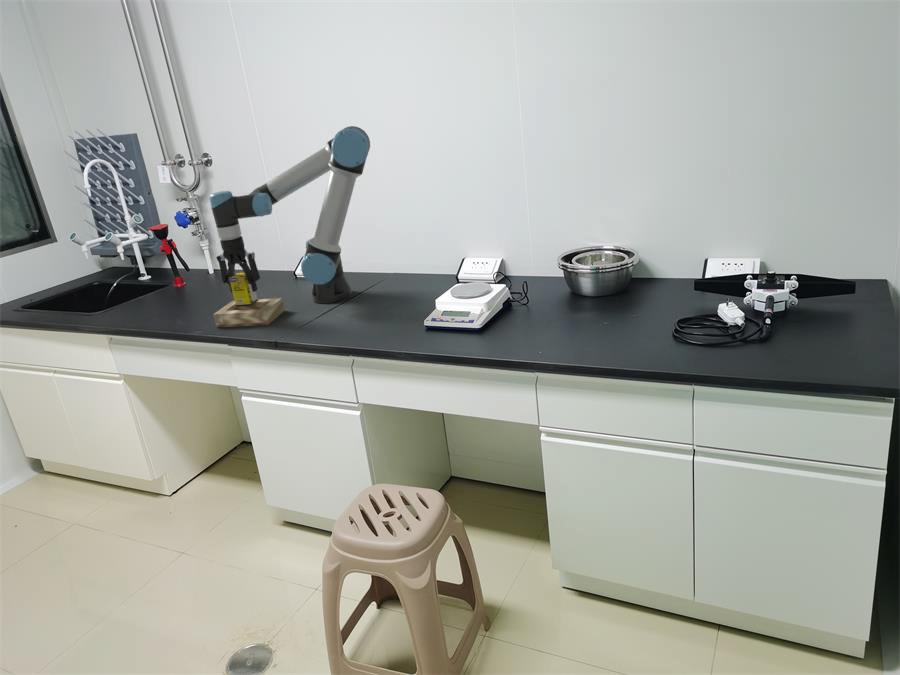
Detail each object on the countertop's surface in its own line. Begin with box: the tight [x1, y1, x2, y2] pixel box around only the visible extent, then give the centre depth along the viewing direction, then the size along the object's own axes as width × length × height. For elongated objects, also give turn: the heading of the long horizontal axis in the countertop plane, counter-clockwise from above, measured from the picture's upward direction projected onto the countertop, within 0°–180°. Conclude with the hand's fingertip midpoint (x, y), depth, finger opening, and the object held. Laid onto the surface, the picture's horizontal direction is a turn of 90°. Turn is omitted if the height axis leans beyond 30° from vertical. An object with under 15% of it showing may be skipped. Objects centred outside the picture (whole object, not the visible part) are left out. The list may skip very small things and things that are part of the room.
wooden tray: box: [213, 297, 286, 328], centre depth 232 cm, size 20×14×5 cm
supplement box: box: [229, 272, 259, 307], centre depth 229 cm, size 6×6×11 cm
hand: (246, 300), depth 231 cm, fingers closed on supplement box, 6 cm apart
